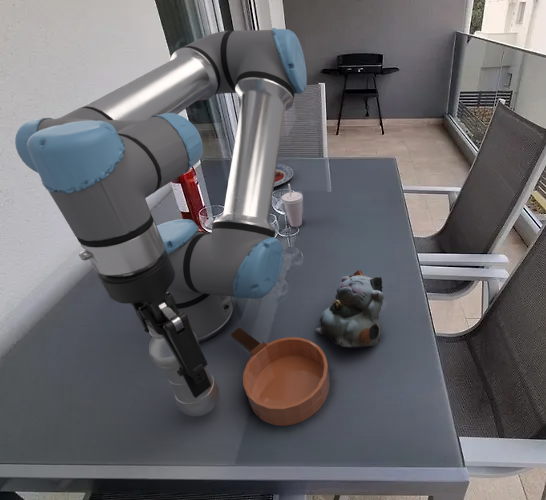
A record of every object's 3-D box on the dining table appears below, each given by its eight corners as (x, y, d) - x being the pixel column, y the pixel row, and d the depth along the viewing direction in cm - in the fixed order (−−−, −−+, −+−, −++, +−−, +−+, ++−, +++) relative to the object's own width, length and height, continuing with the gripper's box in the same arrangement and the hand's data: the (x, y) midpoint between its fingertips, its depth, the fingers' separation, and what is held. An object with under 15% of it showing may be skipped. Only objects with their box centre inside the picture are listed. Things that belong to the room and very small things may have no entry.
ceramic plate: (264, 164, 156) (262, 157, 154) (307, 175, 143) (306, 168, 141) (216, 185, 139) (214, 178, 137) (259, 200, 126) (258, 192, 124)
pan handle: (231, 343, 69) (227, 334, 67) (244, 333, 71) (241, 324, 69) (257, 365, 64) (254, 356, 63) (270, 353, 66) (268, 344, 65)
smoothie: (282, 227, 110) (274, 186, 102) (292, 217, 115) (286, 177, 107) (300, 230, 108) (294, 188, 100) (309, 220, 112) (304, 180, 104)
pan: (232, 392, 63) (226, 375, 60) (292, 342, 71) (288, 325, 69) (286, 444, 55) (281, 427, 52) (345, 380, 64) (344, 363, 61)
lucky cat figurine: (307, 324, 75) (317, 261, 73) (354, 322, 81) (365, 265, 79) (339, 357, 63) (353, 282, 61) (392, 352, 69) (406, 284, 67)
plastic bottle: (210, 425, 55) (168, 341, 44) (173, 418, 57) (122, 334, 45) (230, 389, 61) (196, 305, 49) (195, 383, 62) (154, 300, 50)
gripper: (69, 247, 44) (139, 362, 58) (135, 312, 34) (202, 435, 47) (130, 223, 49) (181, 334, 62) (204, 274, 39) (247, 395, 52)
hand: (190, 378), depth 55 cm, fingers closed on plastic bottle, 6 cm apart
